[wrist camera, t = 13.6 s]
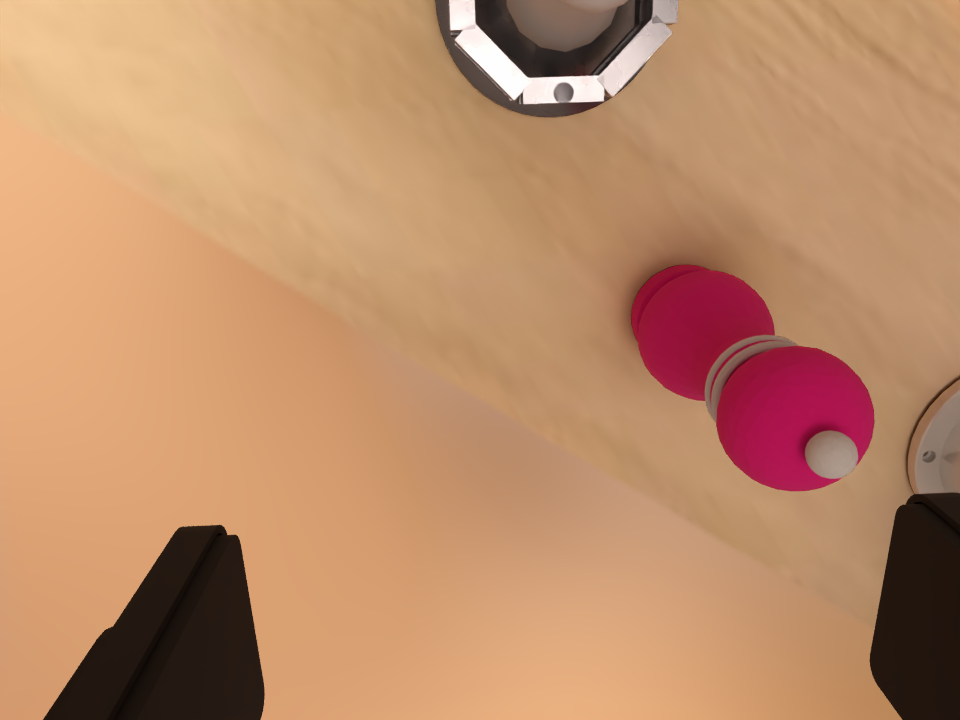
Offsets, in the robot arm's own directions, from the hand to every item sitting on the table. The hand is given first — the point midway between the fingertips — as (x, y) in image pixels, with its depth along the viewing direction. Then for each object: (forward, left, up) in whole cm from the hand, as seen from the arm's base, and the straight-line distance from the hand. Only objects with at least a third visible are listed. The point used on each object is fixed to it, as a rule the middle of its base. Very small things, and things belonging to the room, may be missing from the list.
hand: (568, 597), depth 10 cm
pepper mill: (-12, +6, -34) cm, 37 cm away
